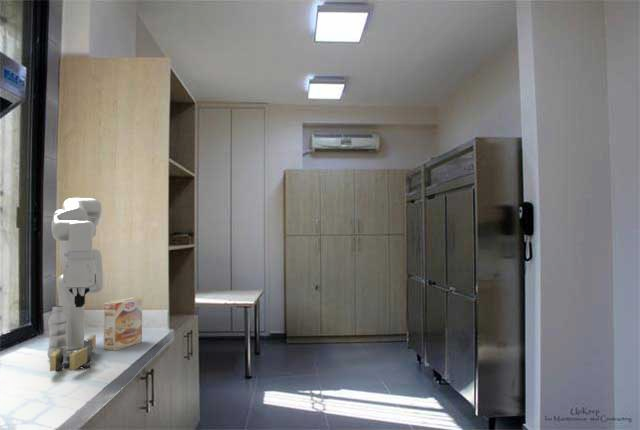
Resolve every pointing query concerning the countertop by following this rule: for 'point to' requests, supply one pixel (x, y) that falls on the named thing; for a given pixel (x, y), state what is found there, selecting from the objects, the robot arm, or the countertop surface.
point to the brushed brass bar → (56, 360)
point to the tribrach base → (67, 365)
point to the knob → (91, 342)
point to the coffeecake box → (122, 323)
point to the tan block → (81, 358)
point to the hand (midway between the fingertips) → (79, 306)
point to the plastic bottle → (57, 330)
